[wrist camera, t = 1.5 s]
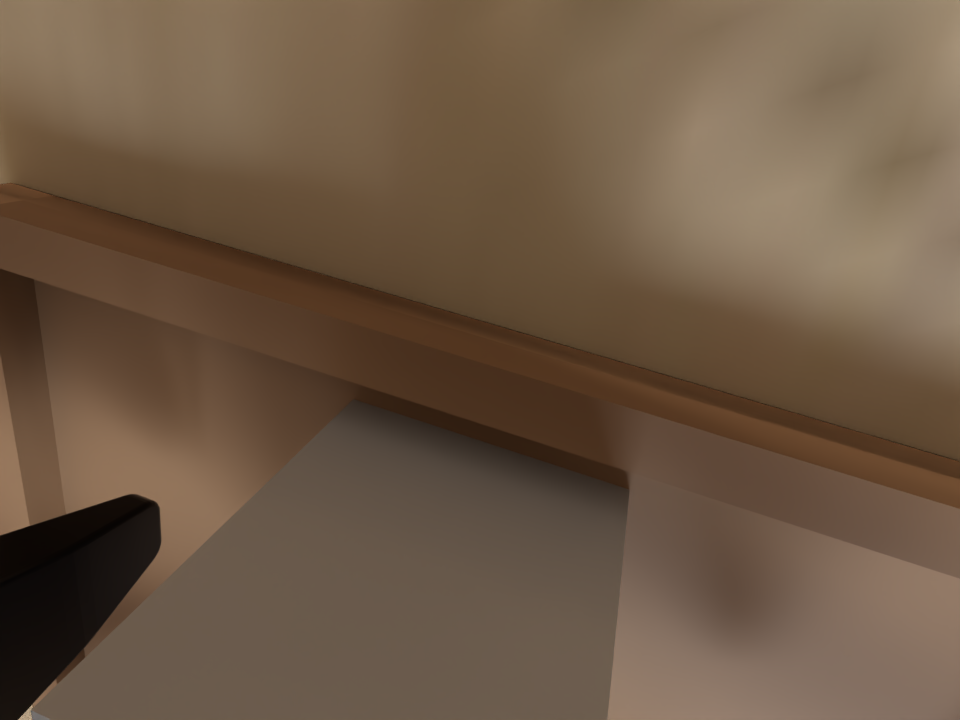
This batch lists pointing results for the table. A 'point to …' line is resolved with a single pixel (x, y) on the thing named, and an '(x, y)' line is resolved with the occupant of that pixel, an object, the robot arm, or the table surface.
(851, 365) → the table surface
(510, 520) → the grey cube block
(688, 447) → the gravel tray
